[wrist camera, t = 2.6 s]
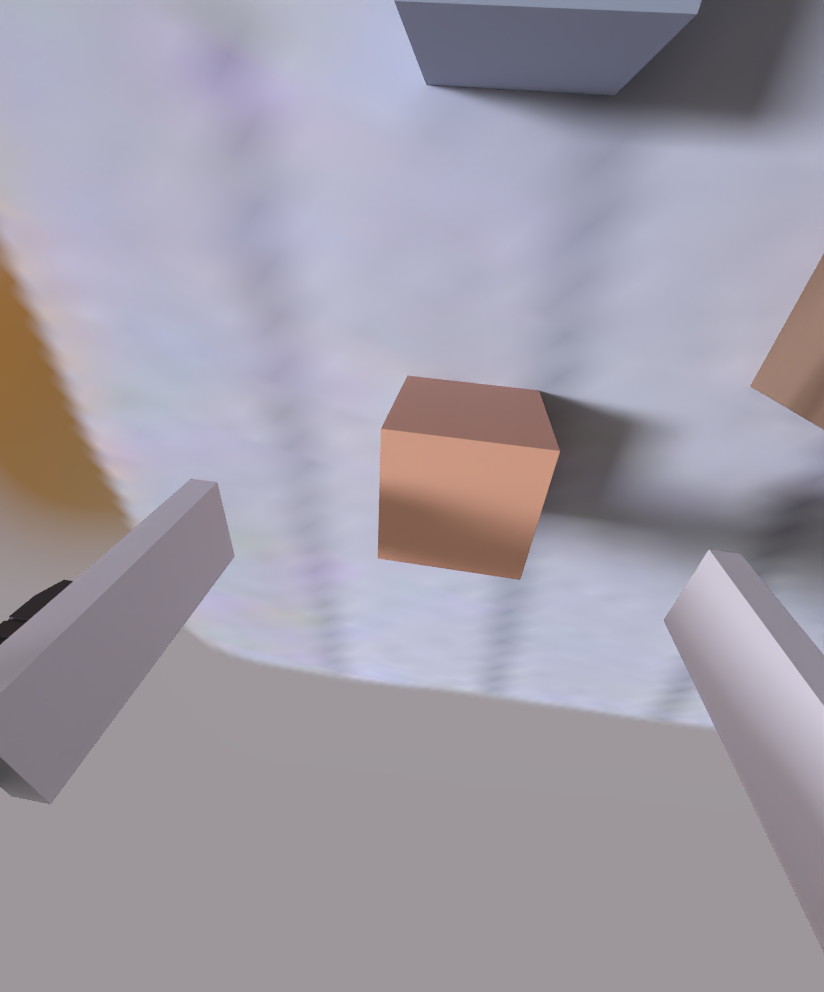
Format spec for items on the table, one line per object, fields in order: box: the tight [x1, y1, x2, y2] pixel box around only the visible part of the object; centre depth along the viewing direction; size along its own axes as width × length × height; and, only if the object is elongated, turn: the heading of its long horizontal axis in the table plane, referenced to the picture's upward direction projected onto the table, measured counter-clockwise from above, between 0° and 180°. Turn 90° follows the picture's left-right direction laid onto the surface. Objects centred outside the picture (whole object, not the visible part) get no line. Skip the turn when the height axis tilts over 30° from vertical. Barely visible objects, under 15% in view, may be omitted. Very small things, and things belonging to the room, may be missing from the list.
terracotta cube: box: [378, 376, 560, 580], centre depth 15 cm, size 5×5×5 cm
